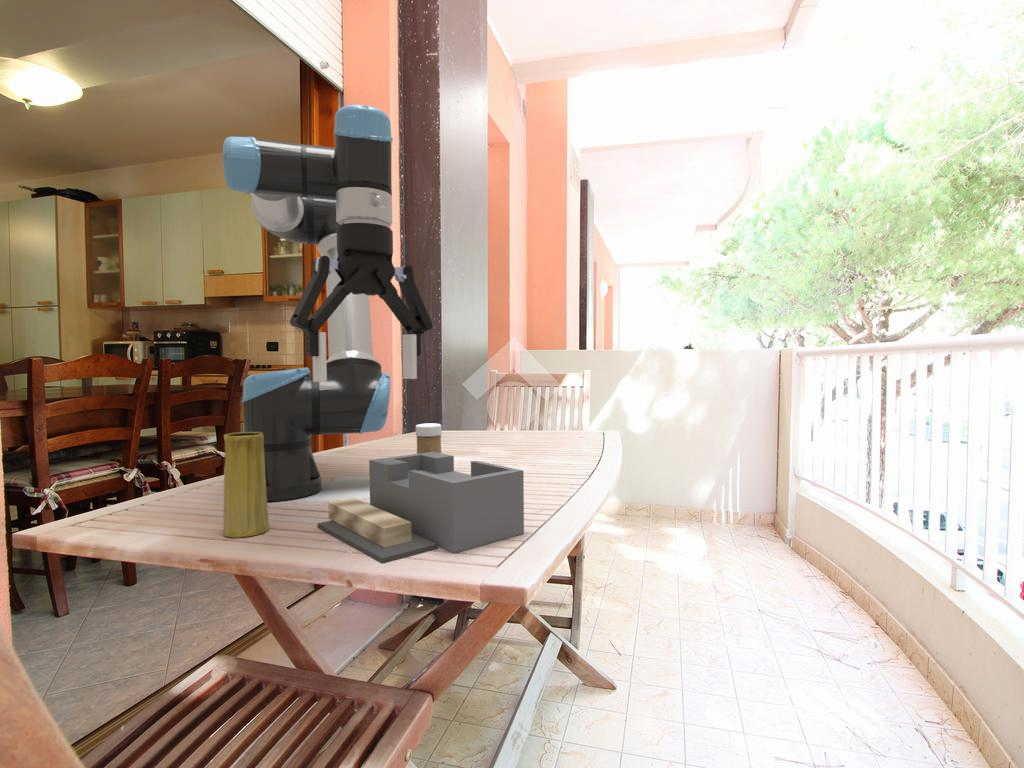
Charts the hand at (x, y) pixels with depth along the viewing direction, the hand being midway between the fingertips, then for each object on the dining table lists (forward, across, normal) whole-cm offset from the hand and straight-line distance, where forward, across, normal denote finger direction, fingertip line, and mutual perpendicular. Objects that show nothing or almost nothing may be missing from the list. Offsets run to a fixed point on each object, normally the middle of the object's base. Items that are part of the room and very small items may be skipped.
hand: (367, 380), depth 78 cm
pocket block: (+22, +10, -4) cm, 24 cm away
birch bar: (+21, 0, +1) cm, 21 cm away
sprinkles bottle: (+22, +17, +11) cm, 30 cm away
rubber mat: (+22, 0, -2) cm, 22 cm away
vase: (+22, -13, +13) cm, 29 cm away
